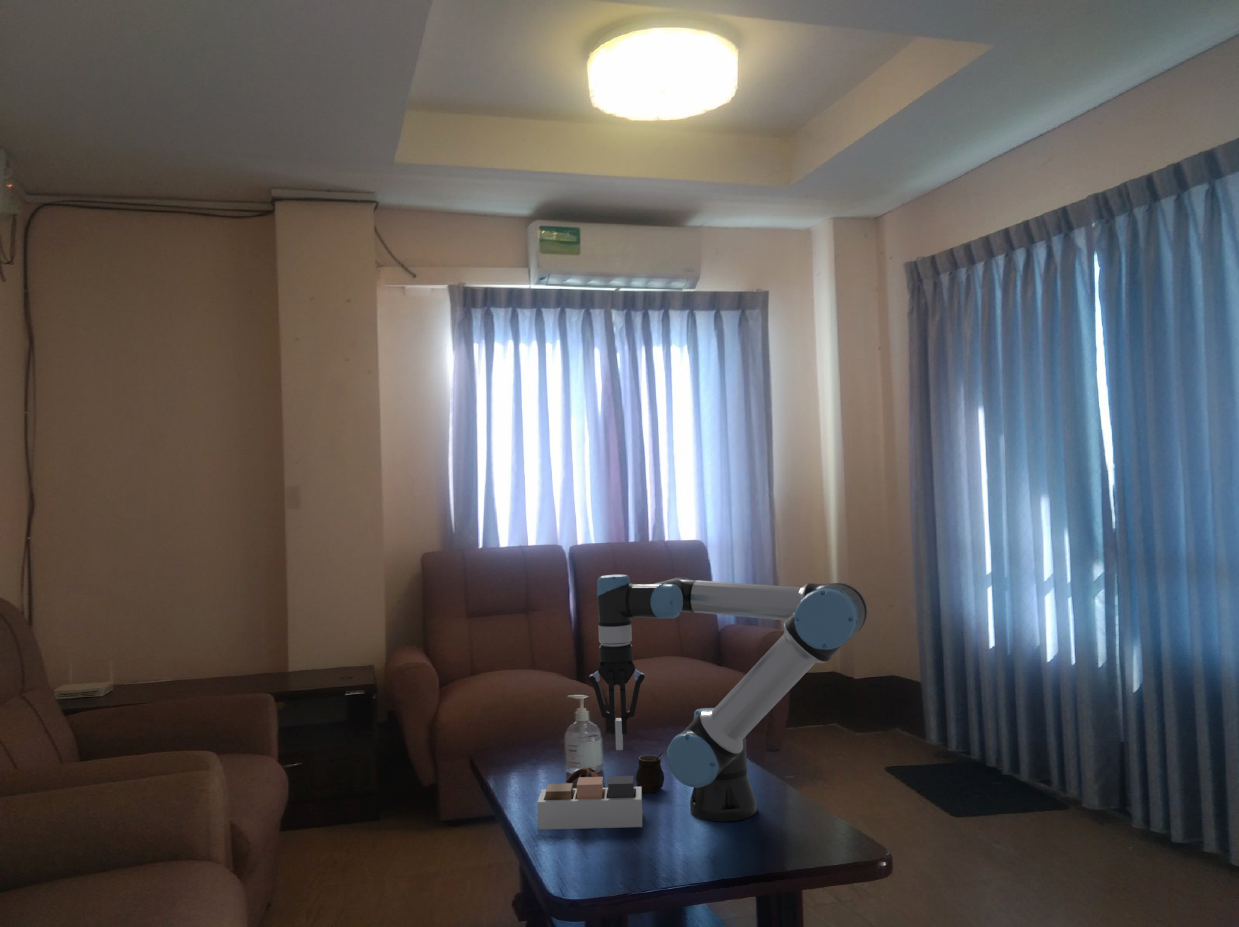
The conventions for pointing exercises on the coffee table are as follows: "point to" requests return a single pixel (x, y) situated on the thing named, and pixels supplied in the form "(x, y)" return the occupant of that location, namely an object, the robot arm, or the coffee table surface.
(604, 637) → the robot arm
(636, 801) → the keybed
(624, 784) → the black rubber key
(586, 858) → the coffee table surface
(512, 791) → the coffee table surface
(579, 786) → the terracotta key
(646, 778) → the mate gourd
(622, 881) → the coffee table surface
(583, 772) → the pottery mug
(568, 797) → the walnut key
